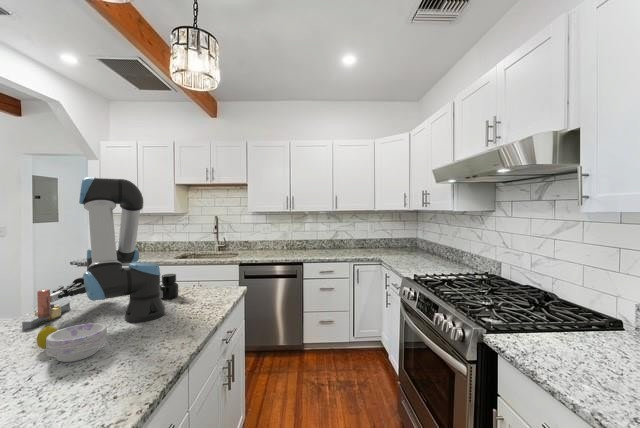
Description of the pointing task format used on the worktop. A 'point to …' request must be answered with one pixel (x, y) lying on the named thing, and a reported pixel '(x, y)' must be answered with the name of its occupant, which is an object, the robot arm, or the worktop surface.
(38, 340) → the lemon
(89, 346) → the paper bowls
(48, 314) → the lever
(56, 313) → the gray bar
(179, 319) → the worktop surface
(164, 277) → the ink bottle
